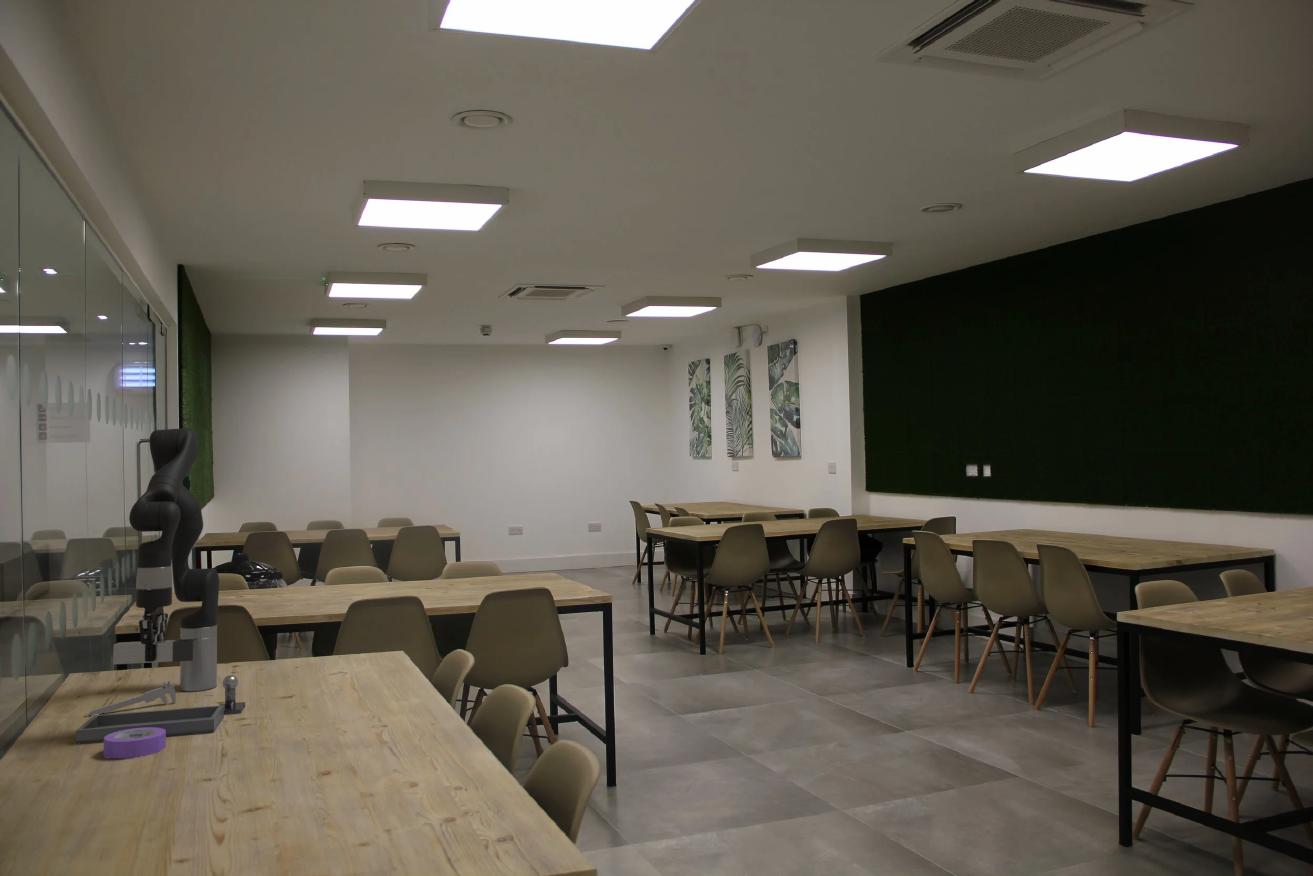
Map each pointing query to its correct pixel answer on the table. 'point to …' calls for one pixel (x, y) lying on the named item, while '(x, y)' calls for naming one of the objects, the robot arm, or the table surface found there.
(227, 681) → the ball stud
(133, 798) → the table surface
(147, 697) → the caliper
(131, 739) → the masking tape
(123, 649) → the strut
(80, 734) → the tray
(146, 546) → the robot arm
